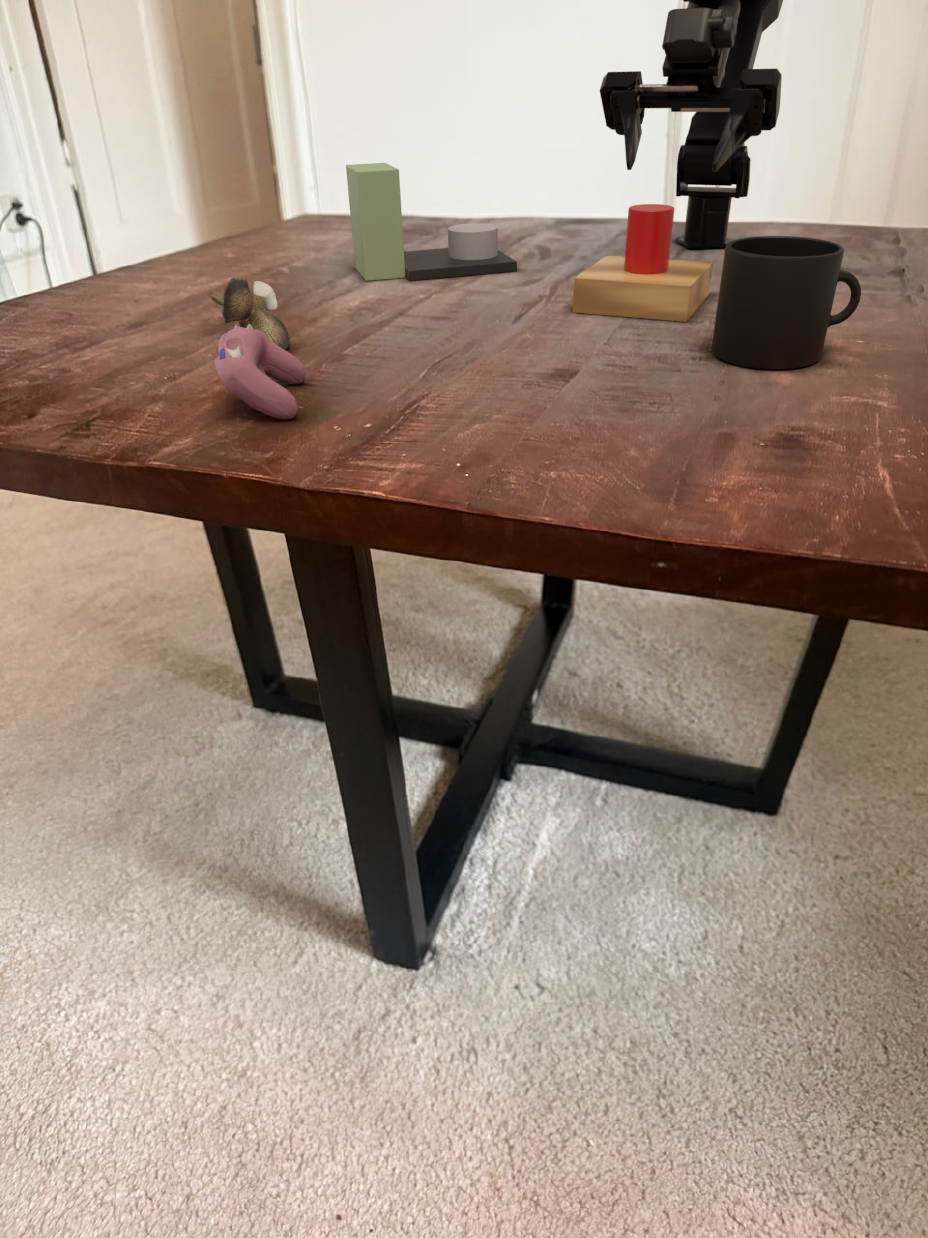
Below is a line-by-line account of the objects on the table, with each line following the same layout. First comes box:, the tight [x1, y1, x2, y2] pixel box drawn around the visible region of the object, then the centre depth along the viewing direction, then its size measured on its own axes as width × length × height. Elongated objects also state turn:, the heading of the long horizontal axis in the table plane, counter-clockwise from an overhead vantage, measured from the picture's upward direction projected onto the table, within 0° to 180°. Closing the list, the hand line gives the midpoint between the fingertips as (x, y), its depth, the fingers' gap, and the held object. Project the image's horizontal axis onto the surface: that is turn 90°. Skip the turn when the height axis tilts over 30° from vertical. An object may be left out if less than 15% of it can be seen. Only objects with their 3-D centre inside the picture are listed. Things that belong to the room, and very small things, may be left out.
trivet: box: [572, 254, 714, 323], centre depth 90 cm, size 12×12×4 cm
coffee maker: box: [345, 162, 518, 282], centre depth 106 cm, size 19×12×12 cm, turn 106°
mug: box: [711, 235, 862, 370], centre depth 73 cm, size 9×12×9 cm
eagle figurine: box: [205, 277, 291, 350], centre depth 81 cm, size 8×7×9 cm
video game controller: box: [214, 324, 307, 420], centre depth 67 cm, size 10×5×7 cm, turn 5°
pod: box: [624, 203, 675, 274], centre depth 88 cm, size 5×5×6 cm
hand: (670, 167), depth 90 cm, fingers open, 9 cm apart
